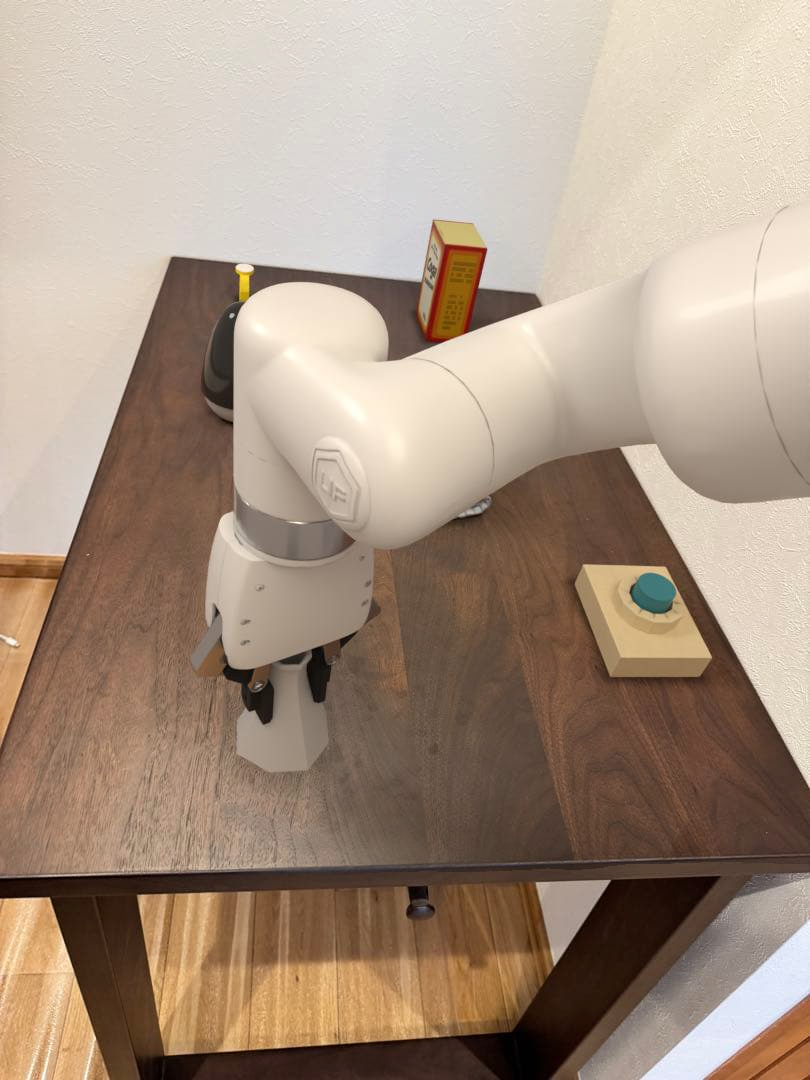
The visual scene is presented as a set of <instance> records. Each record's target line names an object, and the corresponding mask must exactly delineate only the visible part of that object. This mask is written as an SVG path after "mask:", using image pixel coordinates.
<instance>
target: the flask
mask: <svg viewBox="0 0 810 1080" xmlns="http://www.w3.org/2000/svg"><path fill="white" fill-rule="evenodd" d="M311 658H312V651H311V649H310V650H307V651H305V652H302V653H299V654H296V655H293V656H290V657H287V658H284V659H282V660H279V661H276V662H273V663H272V665H271V669H270V673H269V677H268V678H269V680H270V682H271V684H272V685H273V688H274V702H273V719H272V720H271V722H270V723H267V724H265V725H263V724H262V723H261V721H260V719H259V717H258V715H257V714H256V712H255V710H254V711H251V712H248V710H247V709H246V707H245V708H244V710H243V711H242V713H241V714H240V716H239V717H238V719H237V720H236V755H238V756H240V757H241V758H243V759H245V760H247V761H248V762H250V763H252V764H254V765H256V766H257V767H259V768H261V769H263V770H264V771H266V772H267V773H282V772H301V771H309V770H310V769H311V767H312V766H313V765H314V763H316V761H317V759H318V758H319V756H320V755H321V754H322V753H323V751H324V750H325V749H326V747H327V746H328V744H329V743H330V739H329V729H328V721H327V720H328V719H327V710H326V708H325V706H324V704H323V702H321V703H319V704H318V703H317V702H316V703H315V702H314V700H313V696H312V692H311V688H310V684H309V680H308V675H307V669H306V668H307V663H308V662H309V661H310V659H311Z"/></svg>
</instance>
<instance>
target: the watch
mask: <svg viewBox="0 0 810 1080" xmlns="http://www.w3.org/2000/svg"><path fill="white" fill-rule="evenodd" d="M234 270H235V273H236V274H237V275H239V285H238V286H239V297H238V298H239V300H238V302H239V301H245V302H246V301H247V300H248V299H249V298H250V276H253V275H254V273H255V268H254V266H253V265H251V264H248V263H239V264H237V265H235V269H234Z"/></svg>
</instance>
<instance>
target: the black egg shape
mask: <svg viewBox="0 0 810 1080" xmlns="http://www.w3.org/2000/svg"><path fill="white" fill-rule="evenodd" d="M244 304H245V301H239V300H238V301H235V302H232V303H230V304H229V305H227V306H226V307H225V308H224V309H223V310H222V312H221V313H220V314H219V316H218V318H217V319H216V321H215V323H214V325H213V328H212V330H211V333H210V335H209V339H208V342H207V344H206V349H205V351H204V356H203V361H202V366H201V373H200V374H201V375H200V390H201V393H202V394H203V396H204V398H205V401H206V403H207V405H208V406H209V408H210V409H211V411H212V412H214V413H215V415H217V416H218V417H219V418H221V419H223V420H225V421H228V422H229V423H230V422H231V423H234V329H235V323H236V319H237V316H238V313H239V311H240V309H241V307H242V306H243V305H244Z"/></svg>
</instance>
